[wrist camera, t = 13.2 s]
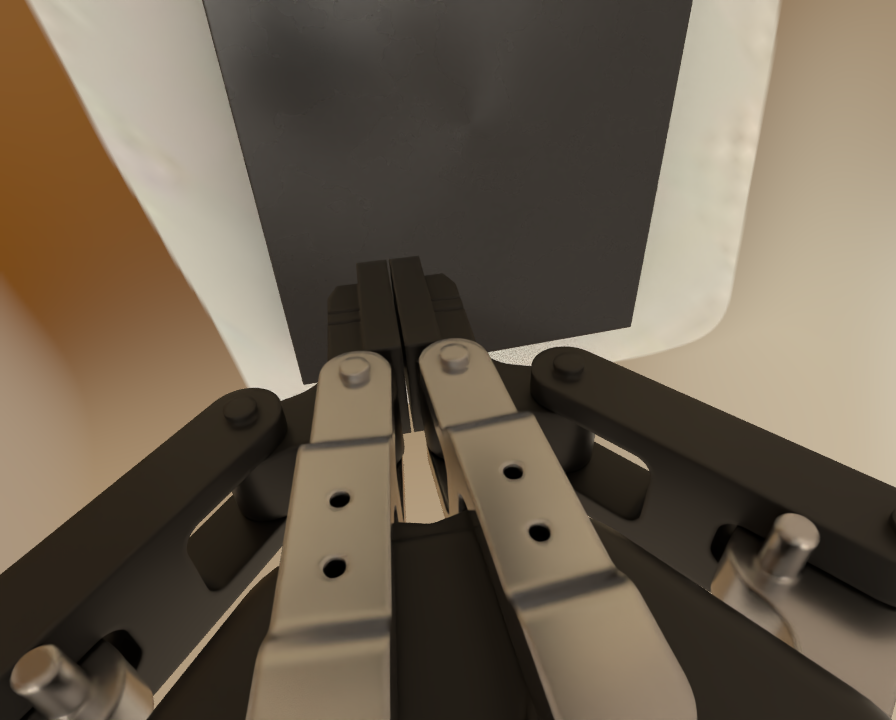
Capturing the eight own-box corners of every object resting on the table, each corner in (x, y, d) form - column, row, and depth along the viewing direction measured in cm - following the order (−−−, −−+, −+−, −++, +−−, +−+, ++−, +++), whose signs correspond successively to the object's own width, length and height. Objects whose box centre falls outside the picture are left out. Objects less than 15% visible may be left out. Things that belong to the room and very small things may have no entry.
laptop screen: (303, 375, 32) (303, 385, 32) (123, -313, 16) (116, -324, 16) (624, 319, 35) (631, 327, 35) (736, -306, 19) (753, -315, 19)
